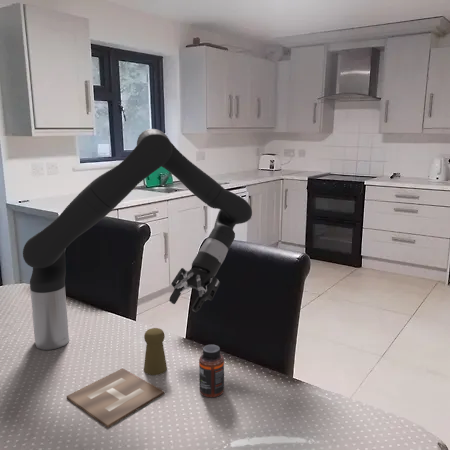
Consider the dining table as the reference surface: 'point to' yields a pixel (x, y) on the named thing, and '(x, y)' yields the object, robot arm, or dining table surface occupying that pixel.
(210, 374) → the supplement bottle
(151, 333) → the olive pawn figure
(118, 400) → the board
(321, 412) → the dining table surface
